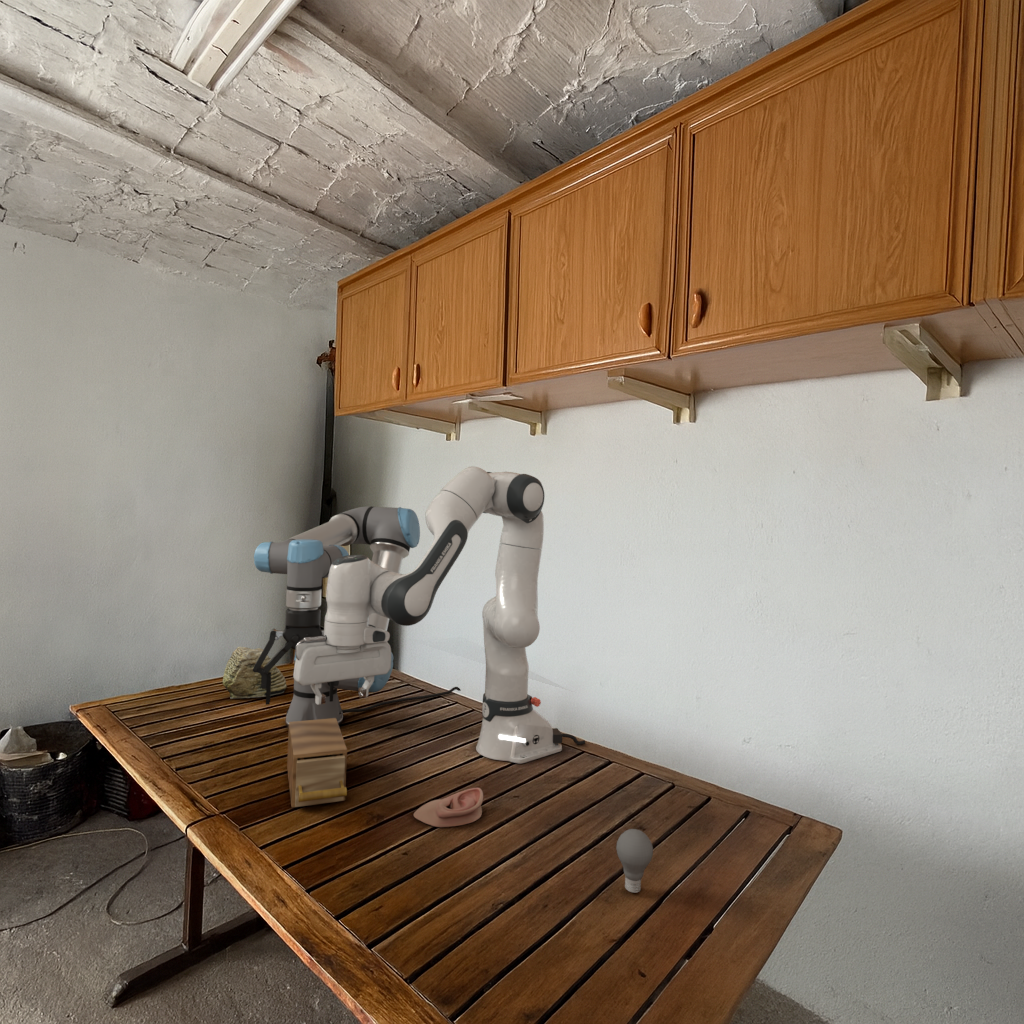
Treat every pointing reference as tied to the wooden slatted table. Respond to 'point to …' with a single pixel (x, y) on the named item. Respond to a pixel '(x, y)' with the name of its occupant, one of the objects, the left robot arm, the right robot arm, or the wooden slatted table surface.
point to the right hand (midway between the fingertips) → (342, 700)
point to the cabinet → (312, 745)
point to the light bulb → (634, 857)
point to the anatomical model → (452, 809)
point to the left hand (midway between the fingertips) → (300, 701)
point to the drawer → (320, 780)
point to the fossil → (250, 675)
